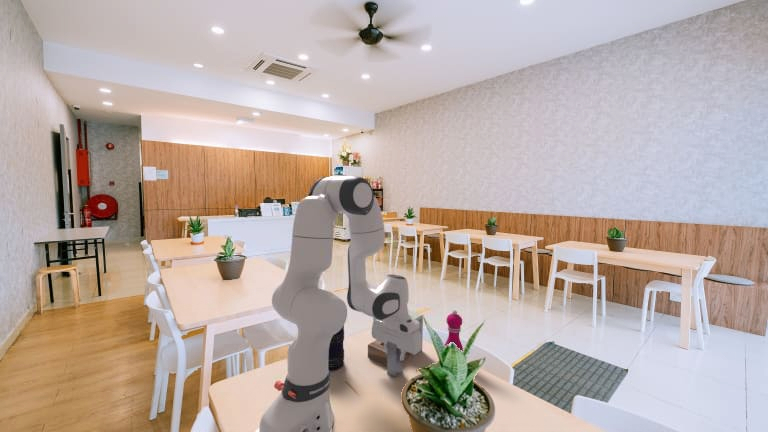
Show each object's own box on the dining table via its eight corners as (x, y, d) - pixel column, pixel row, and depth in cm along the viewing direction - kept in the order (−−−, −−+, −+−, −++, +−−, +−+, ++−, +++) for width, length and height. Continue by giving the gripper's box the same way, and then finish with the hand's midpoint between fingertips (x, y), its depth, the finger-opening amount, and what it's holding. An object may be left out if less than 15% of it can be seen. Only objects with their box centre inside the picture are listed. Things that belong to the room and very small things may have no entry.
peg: (395, 377, 110) (396, 344, 109) (387, 373, 112) (387, 341, 111) (402, 372, 113) (403, 340, 112) (393, 368, 115) (394, 337, 114)
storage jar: (313, 369, 114) (313, 330, 113) (323, 356, 124) (323, 319, 122) (339, 373, 112) (339, 332, 111) (347, 358, 122) (347, 321, 121)
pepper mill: (464, 365, 118) (466, 314, 117) (445, 365, 118) (447, 313, 117) (460, 355, 125) (461, 307, 124) (442, 355, 126) (443, 306, 124)
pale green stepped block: (414, 356, 124) (414, 319, 123) (383, 344, 134) (383, 309, 133) (422, 351, 129) (423, 314, 127) (391, 339, 139) (392, 305, 138)
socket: (391, 367, 116) (391, 354, 116) (367, 356, 124) (367, 344, 123) (412, 353, 127) (413, 341, 126) (389, 343, 134) (389, 332, 134)
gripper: (368, 314, 115) (367, 350, 116) (414, 330, 102) (413, 371, 103) (379, 309, 120) (378, 344, 121) (424, 324, 107) (423, 363, 108)
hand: (395, 356), depth 112 cm, fingers closed on peg, 4 cm apart
